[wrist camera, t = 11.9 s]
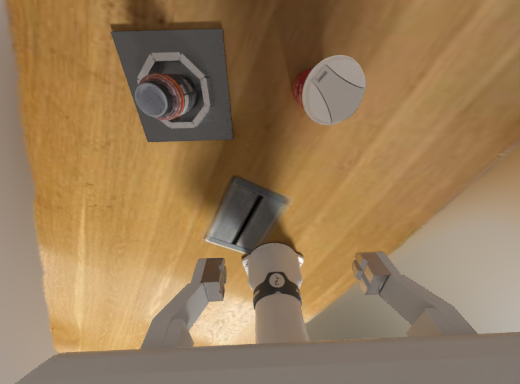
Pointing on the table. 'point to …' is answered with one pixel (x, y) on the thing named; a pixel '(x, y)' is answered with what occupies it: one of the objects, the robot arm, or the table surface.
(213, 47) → the ring collar
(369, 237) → the table surface
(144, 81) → the supplement bottle
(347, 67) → the paper cup
